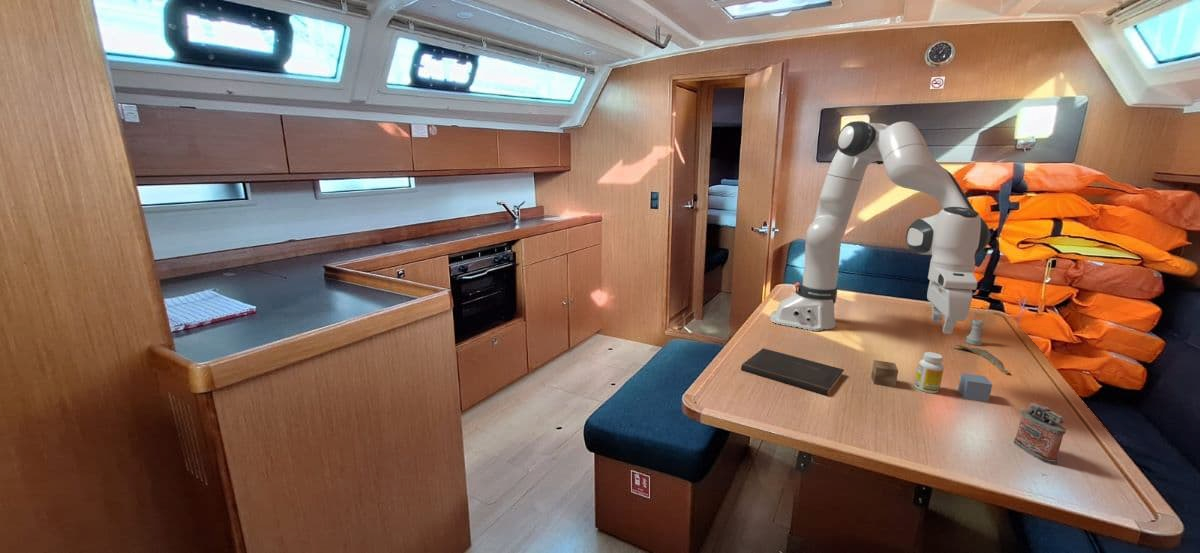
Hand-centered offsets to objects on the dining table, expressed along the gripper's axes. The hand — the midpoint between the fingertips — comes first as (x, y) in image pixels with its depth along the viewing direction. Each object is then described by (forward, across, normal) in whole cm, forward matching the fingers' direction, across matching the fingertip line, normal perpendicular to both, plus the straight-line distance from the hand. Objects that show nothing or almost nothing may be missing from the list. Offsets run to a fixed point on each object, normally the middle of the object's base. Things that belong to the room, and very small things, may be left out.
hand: (941, 327), depth 120 cm
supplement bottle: (+17, 0, -1) cm, 17 cm away
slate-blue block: (+18, 0, +9) cm, 20 cm away
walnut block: (+17, 0, -11) cm, 20 cm away
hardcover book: (+17, +4, -34) cm, 38 cm away
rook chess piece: (+18, -44, +22) cm, 52 cm away
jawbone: (+18, -28, +18) cm, 38 cm away
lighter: (+18, +24, +13) cm, 33 cm away
